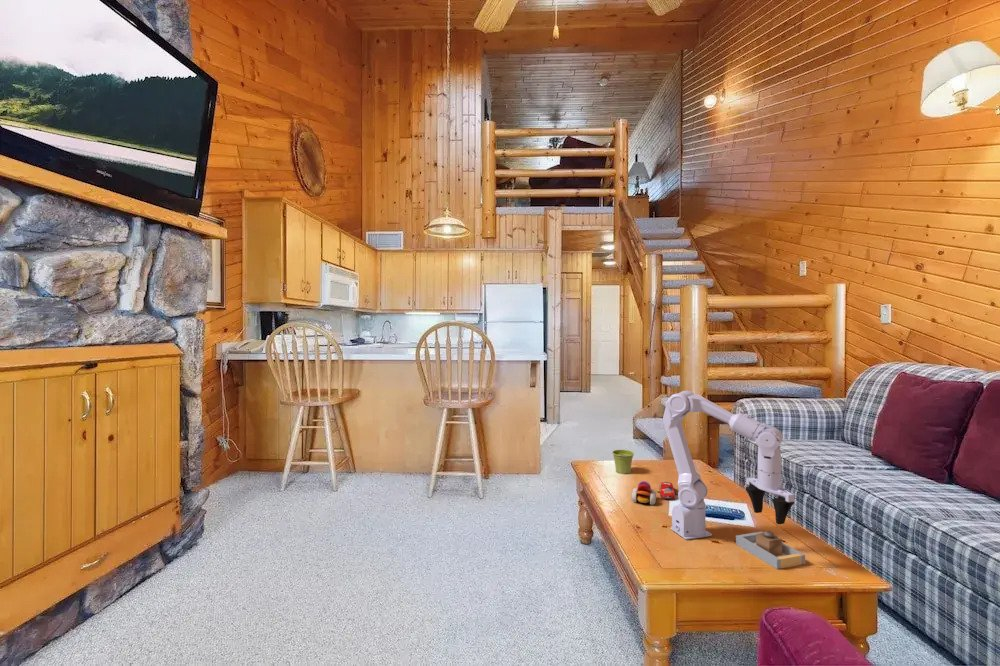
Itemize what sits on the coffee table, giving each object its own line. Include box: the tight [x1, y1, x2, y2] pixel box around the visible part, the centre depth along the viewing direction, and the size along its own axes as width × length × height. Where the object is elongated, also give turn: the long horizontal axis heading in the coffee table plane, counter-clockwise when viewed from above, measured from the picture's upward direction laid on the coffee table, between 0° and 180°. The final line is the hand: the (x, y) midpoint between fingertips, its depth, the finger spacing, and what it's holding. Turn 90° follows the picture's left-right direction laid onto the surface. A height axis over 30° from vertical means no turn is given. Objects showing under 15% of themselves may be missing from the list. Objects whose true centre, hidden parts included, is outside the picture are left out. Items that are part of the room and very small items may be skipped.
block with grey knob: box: [756, 530, 783, 556], centre depth 128 cm, size 4×4×6 cm
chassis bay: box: [735, 531, 806, 570], centre depth 128 cm, size 9×14×2 cm, turn 15°
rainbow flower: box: [630, 480, 657, 506], centre depth 167 cm, size 8×10×7 cm
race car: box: [659, 481, 676, 501], centre depth 174 cm, size 13×5×4 cm, turn 161°
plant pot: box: [611, 449, 635, 475], centre depth 200 cm, size 9×9×9 cm
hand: (768, 517), depth 128 cm, fingers open, 7 cm apart
